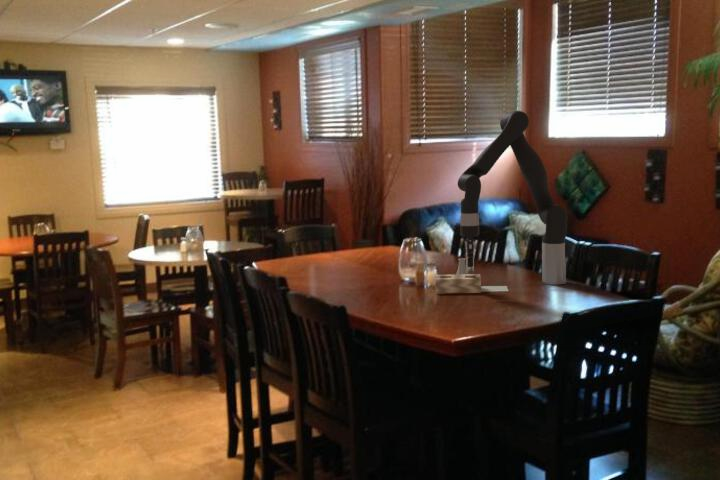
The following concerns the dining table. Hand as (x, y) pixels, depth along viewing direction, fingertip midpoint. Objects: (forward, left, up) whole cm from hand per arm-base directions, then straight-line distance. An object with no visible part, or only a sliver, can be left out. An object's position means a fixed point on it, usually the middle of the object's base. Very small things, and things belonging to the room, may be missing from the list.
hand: (470, 265), depth 291 cm
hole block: (+5, 0, -10) cm, 12 cm away
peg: (0, 0, -3) cm, 3 cm away
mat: (-9, -2, -10) cm, 14 cm away
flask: (+3, -20, -11) cm, 23 cm away
